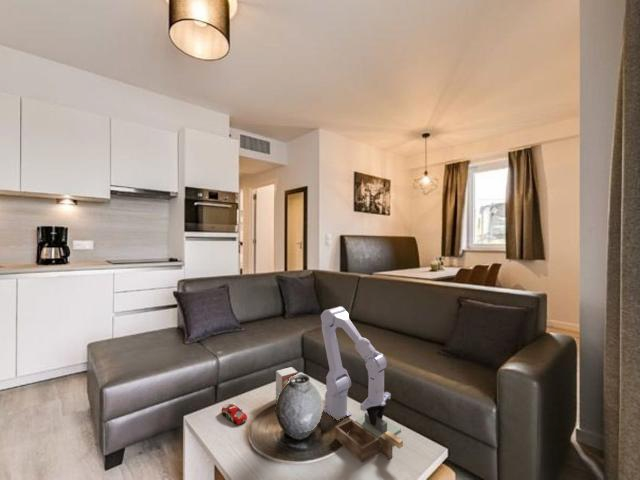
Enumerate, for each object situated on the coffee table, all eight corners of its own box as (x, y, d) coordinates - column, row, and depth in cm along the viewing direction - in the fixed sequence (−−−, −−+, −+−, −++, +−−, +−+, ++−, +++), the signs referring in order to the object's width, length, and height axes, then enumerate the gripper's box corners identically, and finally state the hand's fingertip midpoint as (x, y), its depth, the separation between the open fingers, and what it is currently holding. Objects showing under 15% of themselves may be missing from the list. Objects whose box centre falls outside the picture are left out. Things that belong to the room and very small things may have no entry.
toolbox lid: (354, 426, 117) (355, 412, 117) (372, 416, 123) (372, 404, 123) (382, 446, 106) (382, 431, 106) (400, 435, 112) (400, 421, 112)
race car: (249, 421, 121) (249, 412, 121) (237, 428, 117) (237, 418, 117) (231, 408, 130) (231, 399, 130) (219, 414, 126) (219, 404, 126)
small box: (281, 405, 132) (281, 376, 132) (275, 398, 137) (275, 370, 137) (297, 400, 136) (298, 371, 136) (291, 393, 142) (291, 366, 141)
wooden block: (384, 438, 103) (384, 432, 103) (388, 436, 104) (388, 430, 104) (399, 448, 98) (399, 442, 98) (402, 446, 99) (402, 440, 99)
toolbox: (335, 438, 111) (335, 423, 111) (354, 428, 117) (355, 413, 117) (371, 470, 97) (372, 452, 96) (392, 456, 103) (392, 440, 102)
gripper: (370, 398, 106) (370, 436, 106) (397, 385, 115) (396, 421, 115) (356, 389, 112) (356, 425, 112) (382, 378, 120) (382, 412, 121)
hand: (375, 422), depth 114 cm, fingers closed on toolbox lid, 2 cm apart
